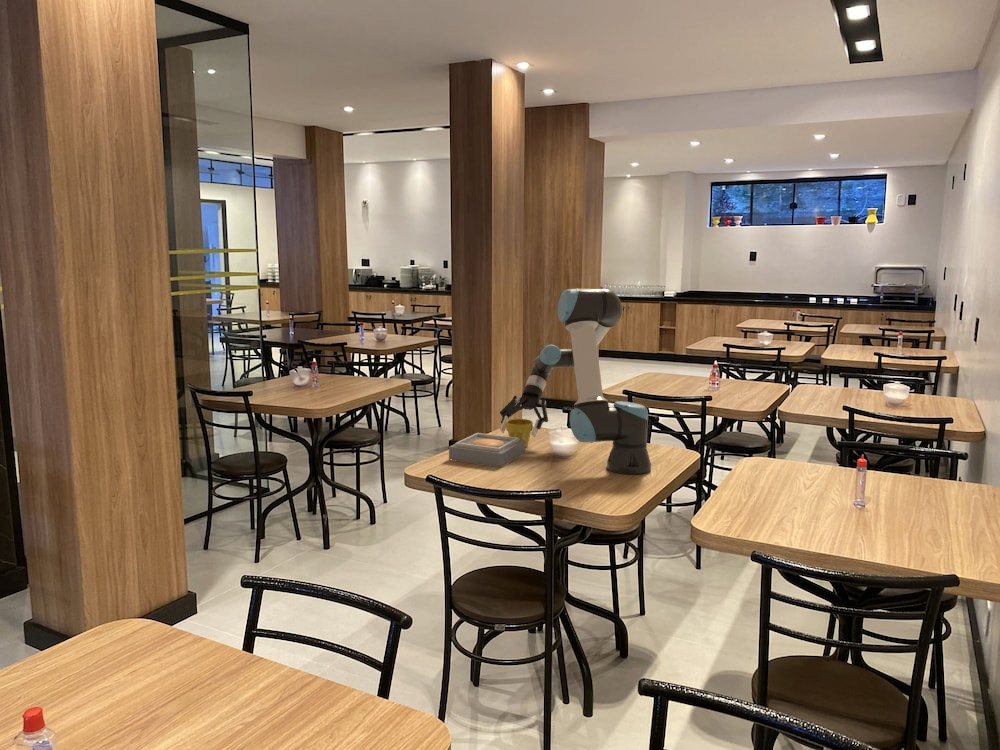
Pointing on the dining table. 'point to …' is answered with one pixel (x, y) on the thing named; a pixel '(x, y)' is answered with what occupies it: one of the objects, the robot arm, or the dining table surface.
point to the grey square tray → (487, 449)
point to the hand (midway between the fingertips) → (517, 433)
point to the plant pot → (520, 429)
